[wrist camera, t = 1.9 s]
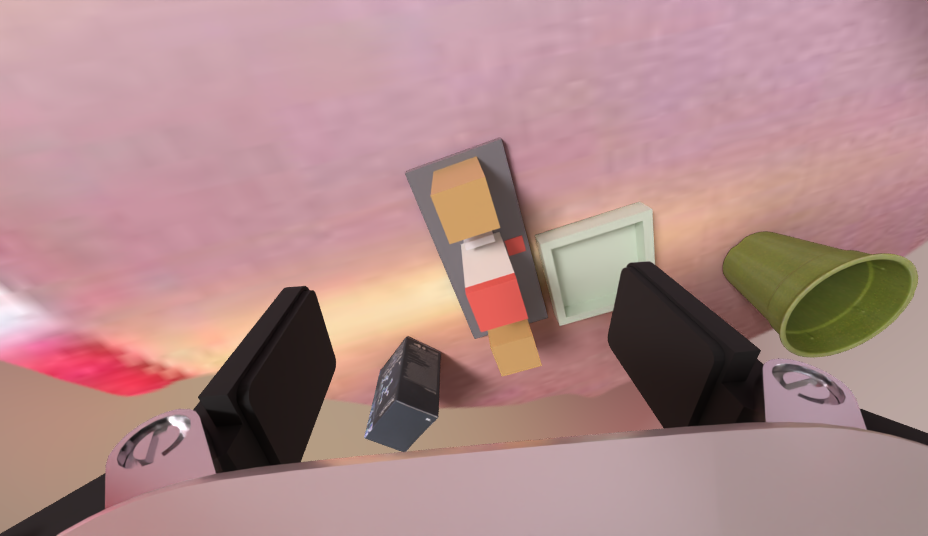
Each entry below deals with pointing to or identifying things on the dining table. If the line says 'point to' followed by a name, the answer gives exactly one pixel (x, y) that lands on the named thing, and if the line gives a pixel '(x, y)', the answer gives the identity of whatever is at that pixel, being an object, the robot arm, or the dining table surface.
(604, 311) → the tray
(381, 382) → the box
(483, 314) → the white block red top
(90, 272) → the dining table surface
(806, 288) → the plant pot
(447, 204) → the fuse block
